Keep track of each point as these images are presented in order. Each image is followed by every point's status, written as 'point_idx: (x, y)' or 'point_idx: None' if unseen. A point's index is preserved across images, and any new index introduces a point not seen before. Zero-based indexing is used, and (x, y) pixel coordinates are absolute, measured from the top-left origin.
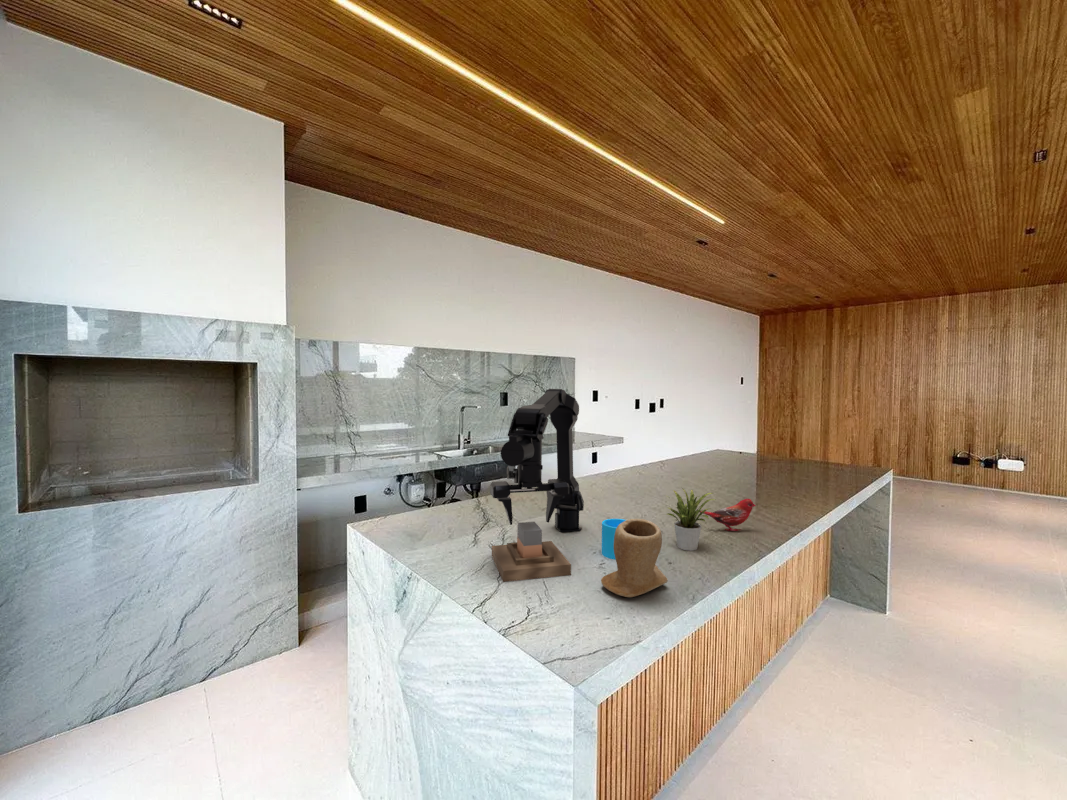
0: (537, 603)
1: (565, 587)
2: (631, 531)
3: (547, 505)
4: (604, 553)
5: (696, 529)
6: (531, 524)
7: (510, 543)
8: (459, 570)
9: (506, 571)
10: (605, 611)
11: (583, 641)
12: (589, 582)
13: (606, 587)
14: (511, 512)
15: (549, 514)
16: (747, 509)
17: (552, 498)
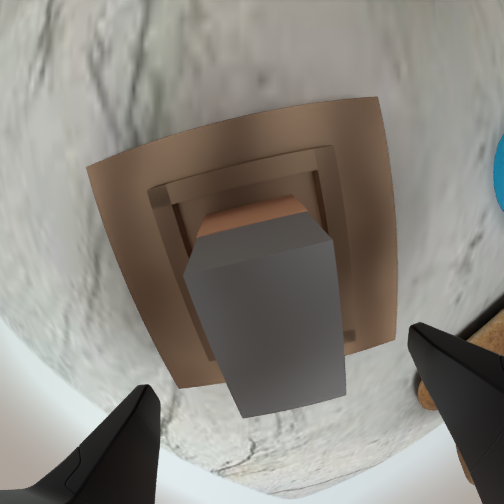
0: (271, 432)
1: (346, 380)
2: None
3: (480, 401)
4: (500, 189)
5: None
6: (299, 314)
7: (165, 193)
8: (48, 293)
9: (188, 386)
10: (381, 430)
11: (320, 475)
12: (407, 351)
13: (418, 396)
14: (151, 495)
15: (438, 399)
16: None
17: (487, 501)
